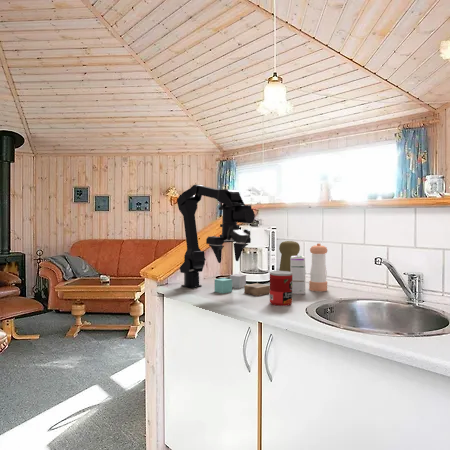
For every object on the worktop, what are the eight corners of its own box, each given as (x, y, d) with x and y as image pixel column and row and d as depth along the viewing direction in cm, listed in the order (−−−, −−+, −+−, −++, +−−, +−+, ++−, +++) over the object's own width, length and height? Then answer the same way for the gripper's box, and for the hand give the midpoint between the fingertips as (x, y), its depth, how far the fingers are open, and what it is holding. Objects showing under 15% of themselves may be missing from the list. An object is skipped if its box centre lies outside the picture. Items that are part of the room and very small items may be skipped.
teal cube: (214, 291, 163) (214, 279, 163) (223, 290, 166) (223, 278, 166) (222, 293, 159) (222, 280, 159) (232, 292, 162) (232, 279, 162)
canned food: (287, 307, 136) (287, 274, 136) (265, 304, 141) (265, 272, 140) (295, 302, 143) (296, 271, 143) (275, 300, 147) (275, 270, 147)
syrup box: (305, 294, 158) (305, 257, 157) (290, 293, 159) (290, 256, 158) (305, 291, 163) (305, 255, 163) (290, 290, 165) (290, 255, 164)
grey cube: (229, 287, 173) (229, 275, 173) (235, 285, 177) (235, 274, 177) (239, 288, 170) (239, 276, 170) (245, 286, 174) (245, 275, 174)
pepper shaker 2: (325, 288, 170) (326, 242, 170) (328, 291, 163) (329, 244, 162) (308, 288, 171) (308, 242, 170) (310, 291, 164) (310, 244, 163)
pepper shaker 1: (303, 286, 174) (303, 242, 174) (278, 286, 174) (279, 242, 174) (299, 282, 185) (299, 240, 184) (275, 282, 185) (276, 240, 184)
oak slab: (244, 292, 160) (244, 285, 160) (256, 290, 165) (256, 283, 165) (257, 295, 155) (257, 287, 155) (269, 293, 160) (269, 285, 159)
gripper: (225, 223, 145) (224, 266, 146) (261, 222, 157) (260, 262, 158) (205, 221, 153) (204, 262, 154) (241, 221, 166) (240, 259, 166)
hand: (228, 261), depth 158 cm, fingers open, 9 cm apart
